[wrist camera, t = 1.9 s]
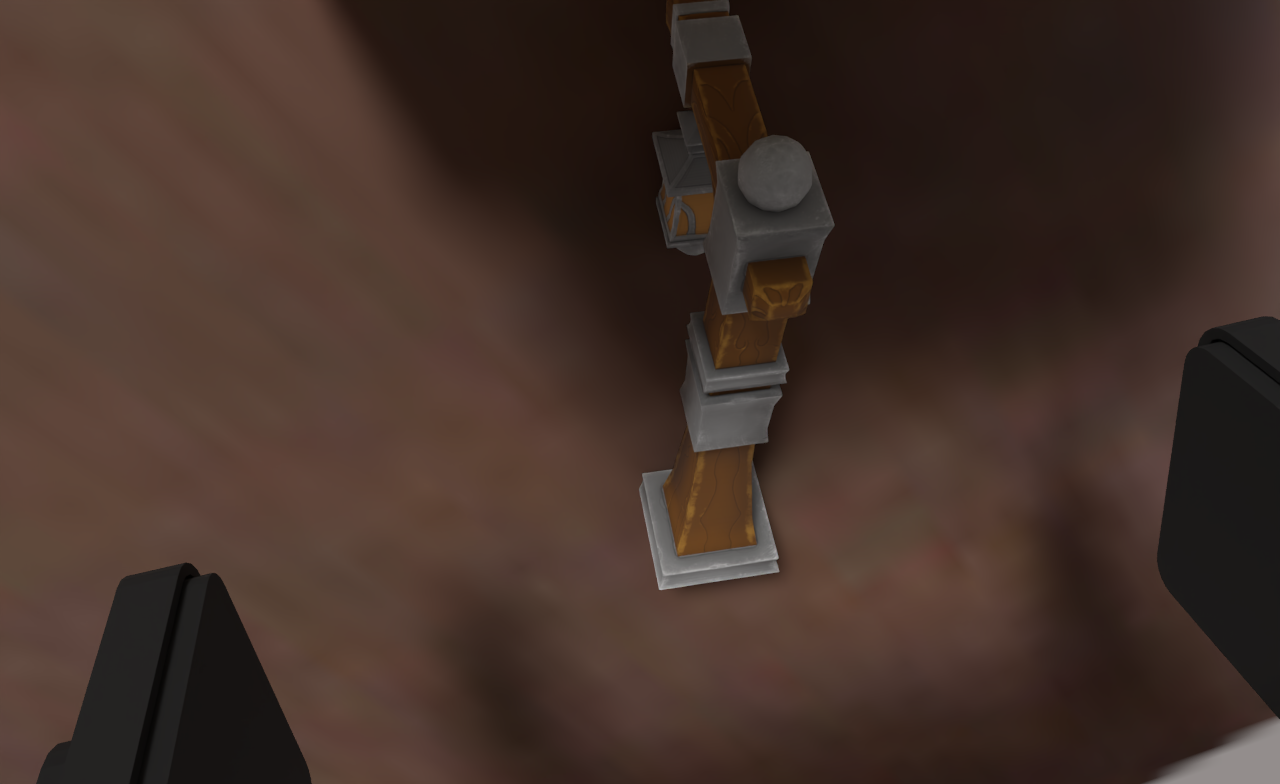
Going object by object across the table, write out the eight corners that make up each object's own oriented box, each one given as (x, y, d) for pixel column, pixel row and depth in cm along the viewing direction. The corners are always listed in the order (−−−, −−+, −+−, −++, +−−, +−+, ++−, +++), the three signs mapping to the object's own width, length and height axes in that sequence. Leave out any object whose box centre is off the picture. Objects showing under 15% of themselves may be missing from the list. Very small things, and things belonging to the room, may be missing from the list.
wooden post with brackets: (780, -96, 13) (902, 203, 10) (718, 339, 19) (782, 585, 17) (618, -84, 12) (702, 225, 10) (612, 352, 19) (661, 603, 16)
